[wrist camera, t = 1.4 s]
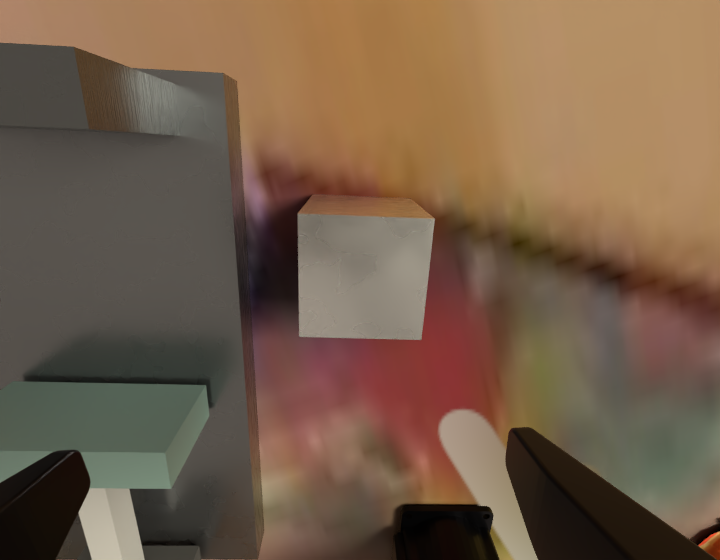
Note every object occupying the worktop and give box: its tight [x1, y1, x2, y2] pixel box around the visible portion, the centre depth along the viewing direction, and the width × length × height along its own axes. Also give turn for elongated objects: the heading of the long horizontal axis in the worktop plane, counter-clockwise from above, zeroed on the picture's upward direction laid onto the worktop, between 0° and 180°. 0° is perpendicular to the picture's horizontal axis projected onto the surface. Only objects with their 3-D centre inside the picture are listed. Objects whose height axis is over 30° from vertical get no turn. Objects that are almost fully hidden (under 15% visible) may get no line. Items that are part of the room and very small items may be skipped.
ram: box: [0, 381, 209, 560], centre depth 20 cm, size 10×14×5 cm
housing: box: [298, 194, 435, 340], centre depth 17 cm, size 5×5×6 cm
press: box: [0, 43, 264, 559], centre depth 18 cm, size 14×29×8 cm, turn 177°
